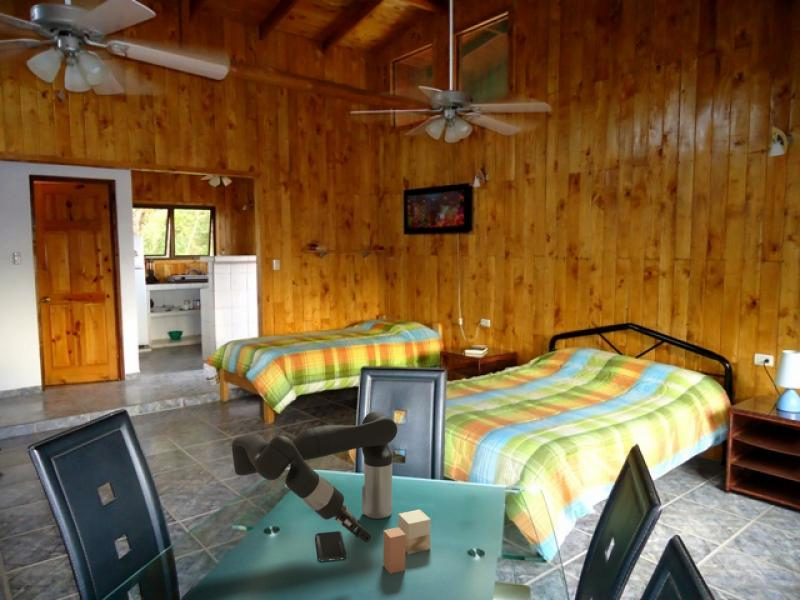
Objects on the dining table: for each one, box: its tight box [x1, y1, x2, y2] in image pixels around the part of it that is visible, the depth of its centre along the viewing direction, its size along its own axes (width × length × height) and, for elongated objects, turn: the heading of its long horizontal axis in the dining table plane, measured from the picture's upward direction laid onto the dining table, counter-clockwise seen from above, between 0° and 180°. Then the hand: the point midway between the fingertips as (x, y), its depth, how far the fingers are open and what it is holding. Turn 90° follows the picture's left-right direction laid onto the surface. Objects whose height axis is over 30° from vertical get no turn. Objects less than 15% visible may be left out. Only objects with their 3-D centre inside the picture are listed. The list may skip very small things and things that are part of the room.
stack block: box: [382, 526, 406, 574], centre depth 156 cm, size 4×4×10 cm
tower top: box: [397, 508, 432, 539], centre depth 168 cm, size 7×7×4 cm
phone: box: [315, 530, 347, 560], centre depth 167 cm, size 8×1×15 cm
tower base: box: [405, 533, 431, 555], centre depth 168 cm, size 7×7×4 cm
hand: (362, 531), depth 151 cm, fingers open, 8 cm apart
